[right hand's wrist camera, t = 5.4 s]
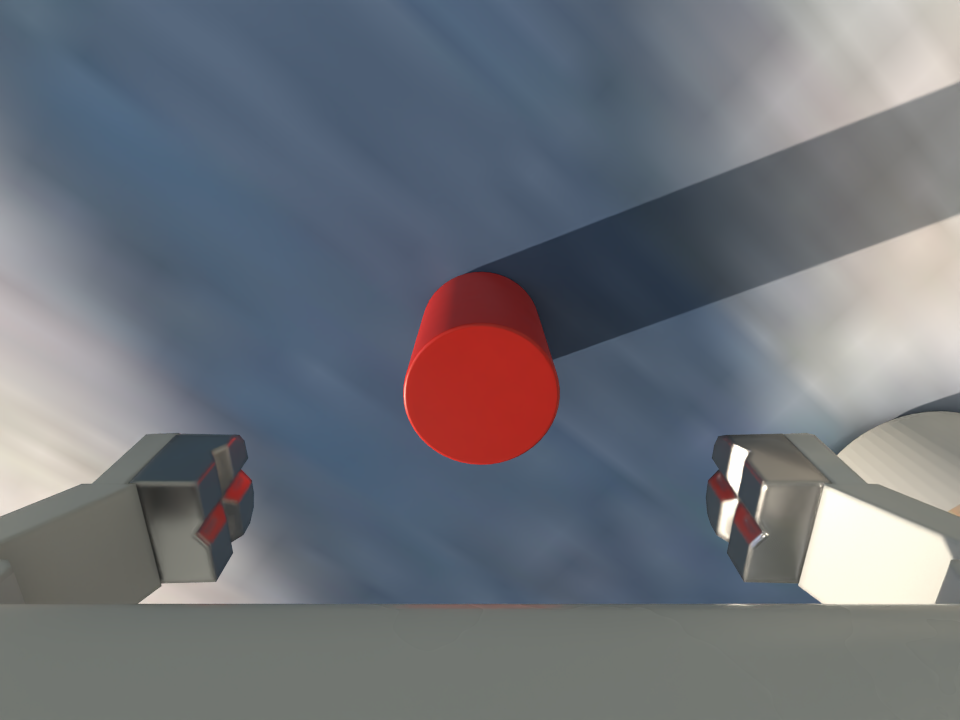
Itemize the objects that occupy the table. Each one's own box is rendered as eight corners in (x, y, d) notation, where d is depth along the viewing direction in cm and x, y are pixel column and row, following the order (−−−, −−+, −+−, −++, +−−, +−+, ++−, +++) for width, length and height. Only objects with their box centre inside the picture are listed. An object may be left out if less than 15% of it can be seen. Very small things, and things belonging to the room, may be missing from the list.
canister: (459, 248, 17) (452, 293, 12) (562, 309, 17) (591, 373, 13) (401, 347, 18) (376, 422, 13) (500, 401, 18) (506, 489, 14)
